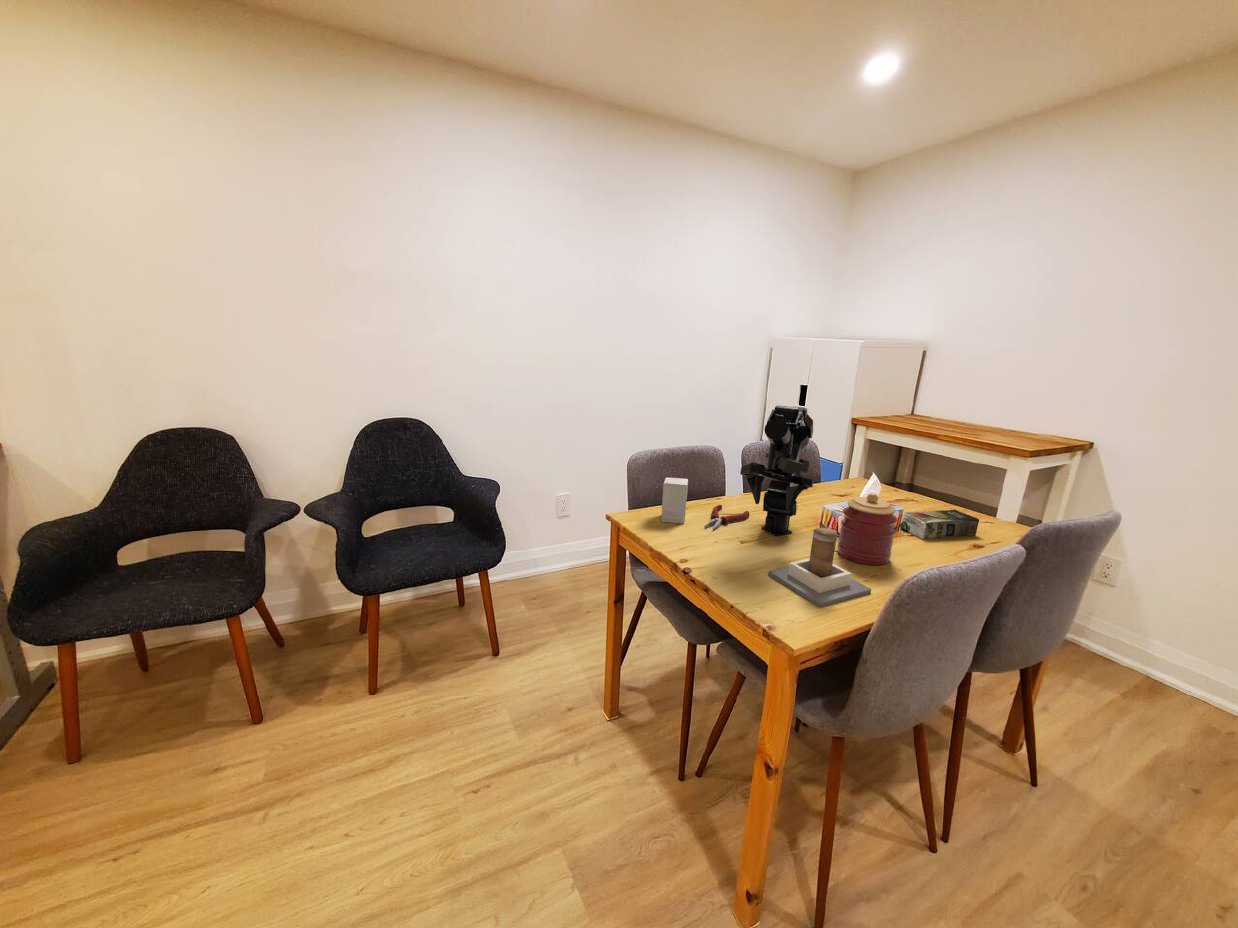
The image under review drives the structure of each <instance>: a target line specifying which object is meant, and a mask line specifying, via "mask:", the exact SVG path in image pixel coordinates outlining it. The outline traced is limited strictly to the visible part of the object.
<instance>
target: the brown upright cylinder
mask: <svg viewBox="0 0 1238 928" xmlns="http://www.w3.org/2000/svg"><path fill="white" fill-rule="evenodd" d="M837 538H838V533H837V531H835V530H833V529H830V528H829V529H828V528H824V527H817V528H814V529H813V531H812V541H811V546H810V555H809V559H810V560H809V567H808V571H809V572H811V573H813V574H815V575H816V576H818V577H820V578H824V577H828V576H831V571H832V564H834V557H835V551H836V544H837V543H836V542H837Z"/></svg>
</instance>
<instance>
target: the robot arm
mask: <svg viewBox="0 0 1238 928" xmlns="http://www.w3.org/2000/svg"><path fill="white" fill-rule="evenodd" d="M764 434H765V436H766V438H767V440H768V441H769V448H768V453H766V454H765V458H767V464H766V466H765V465H764V464H762V463H756V462H753V461H752V462H748V463H745V464H743V465H742V466H741V468H740V472H739V474H740V475H741V476H744V479H745V480H746V481H747V483H748V485H749V487H750V491H751V494H752V497H753V500H754V503H755V505H759V504H760V501H761V496H762V495H761V493H762V486H763V485H762V484H763V482H764V480H765V478H769V479H771V480H769V485H768V487H767V490H766V491H765V492H764V494H763V499H762V501H763V502H762V507H763V508H762V511H763V512H766V516H765V522H764V526H761V529H762V530H763V531H765V532H767V533H770V534H771V535H772V536H776V537H779V536H783V535H788V534H792V533H793V531H792V530H790V529H789V527H790V519H791V517H793V516H796V515H797V508H798V507H797V499H798V497H799V495H800V494H802V492H803V491H805V490H806V491H807V490H808V489H811V488H813V487H814V479H813V477H812V476H808V475H805V474H806V473H808V471H809V469H810V460H808V459H803V458H800V459H799V457H800V454H801V452H802V450H803V449H805V448H806V447H807V446H809V445H808V444H809V443H810V440H811V439H812V438H813V434H814V420H813V418H812V417H811V416H810V415H809V413H808V408H806V407H802V406H786V405H775V407H774V409H773V408H772V409H771V412H770V414H769V416H768V419H767V421H766V424H765V425H764ZM802 473H804V474H802Z"/></svg>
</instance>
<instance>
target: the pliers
mask: <svg viewBox="0 0 1238 928" xmlns="http://www.w3.org/2000/svg"><path fill="white" fill-rule="evenodd" d="M722 509H723V505H722V504H718V505H716V506H714V507H713V508H712V514H711V515H710V518H709V519H710V520H709V522H707V523H706V524H705V525H704V526H703V529H705V528H710V527H712V530H715V529H717V528H720V526H721V525H725V526H728V525H729V524H731V523H738V522H743V521H746V520H747V519H748V518H749V517H750V512H749V510H745V511H744V512H743V513H738V514H732V515H731V514H730V515H726V516H725V515H724V516H723V515H722V516H720V515H719V512H720V511H722Z"/></svg>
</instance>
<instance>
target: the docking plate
mask: <svg viewBox="0 0 1238 928" xmlns="http://www.w3.org/2000/svg"><path fill="white" fill-rule="evenodd" d="M809 560H810V558H804V559H802V560H801V559H800V560H797V561H793V562H789V564H788V566H784V567H780V568H776V569H775V568H774V569H771V570H768V573H767V575H768V576H770V577H772V578H773V579H774V580H776V581H778V582H779V583H781V584H782V585H784V586H785V587H787V588H789V589H790V590H792V591H793V592H795V593H796V594H798V595H800V596H802V597H803V598H804V599H806V600H807V601H809V602H811V603H812V604H814V605H815V606H816V607H819V608H821V607H825V606H829V605H833V604H835V603H840V602H843V601H846V600H847V601H848V600H849V599H850V598H851V599H854V598H857V597H858V598H859V597H861V596H865V595H867V594H868V595H869V594H871V592H872V588H871V587H868V586H867V585H865V584H862V583H861V582H859V581H857V580H855V579H853V578H852V572H850V571H848V570H846V569H845V568H842V567H841V566H838V565H836V564H834V563H833V564H832V571H831V576H828V577H824V578H820V577H818V576H816V575H815V574H813V573H811V572H809V571H808V567H809Z"/></svg>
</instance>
